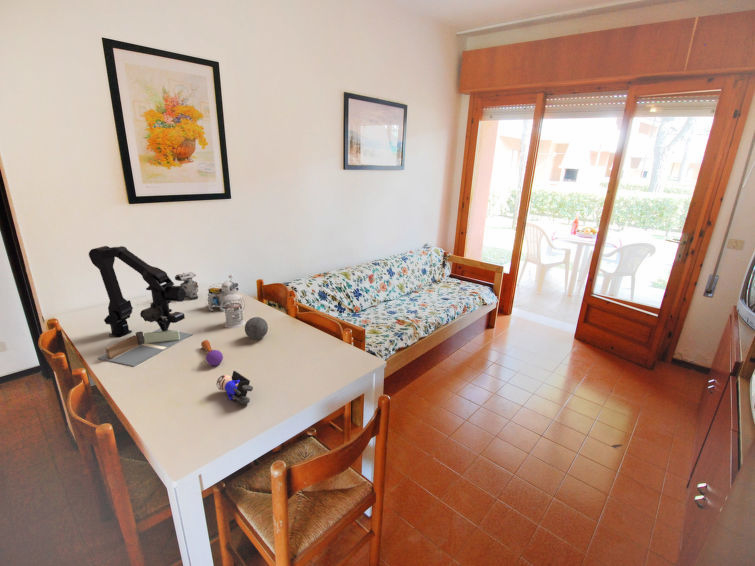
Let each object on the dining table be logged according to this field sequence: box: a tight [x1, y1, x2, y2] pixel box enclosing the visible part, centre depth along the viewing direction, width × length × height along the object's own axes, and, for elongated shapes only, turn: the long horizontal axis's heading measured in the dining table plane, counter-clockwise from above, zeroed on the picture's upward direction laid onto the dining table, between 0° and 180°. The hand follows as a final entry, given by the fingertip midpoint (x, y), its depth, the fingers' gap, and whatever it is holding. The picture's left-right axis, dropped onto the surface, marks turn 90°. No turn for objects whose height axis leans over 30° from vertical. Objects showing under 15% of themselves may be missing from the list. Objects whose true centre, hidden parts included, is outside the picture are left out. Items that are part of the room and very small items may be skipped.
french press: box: [224, 274, 247, 329], centre depth 178 cm, size 10×12×25 cm
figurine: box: [174, 271, 199, 301], centre depth 209 cm, size 9×12×15 cm
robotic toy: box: [205, 280, 239, 312], centre depth 198 cm, size 13×17×15 cm
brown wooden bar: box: [105, 331, 144, 359], centre depth 150 cm, size 3×16×5 cm, turn 164°
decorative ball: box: [244, 316, 269, 340], centre depth 165 cm, size 10×10×10 cm
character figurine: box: [216, 370, 254, 404], centre depth 123 cm, size 8×7×15 cm
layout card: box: [97, 327, 193, 368], centre depth 156 cm, size 18×30×1 cm, turn 164°
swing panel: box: [143, 329, 180, 343], centre depth 159 cm, size 2×13×4 cm, turn 109°
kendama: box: [200, 339, 224, 367], centre depth 148 cm, size 6×6×20 cm
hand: (165, 332), depth 163 cm, fingers closed
